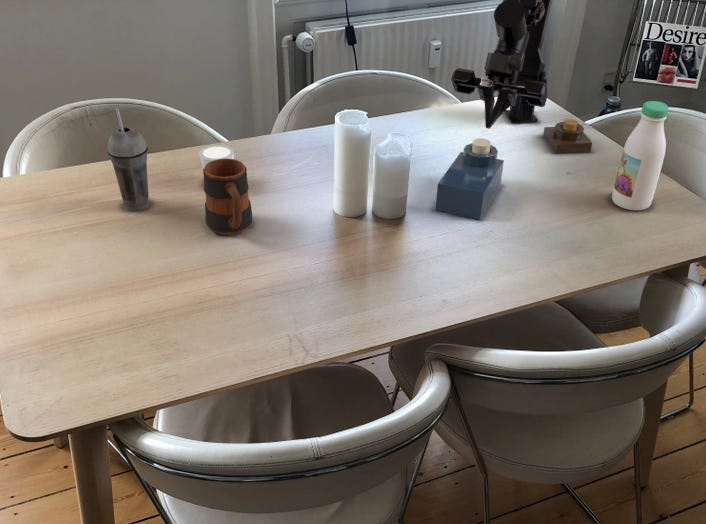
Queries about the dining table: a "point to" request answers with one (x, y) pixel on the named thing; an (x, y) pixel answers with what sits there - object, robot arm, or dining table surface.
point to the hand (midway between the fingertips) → (487, 127)
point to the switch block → (567, 139)
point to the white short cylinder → (481, 146)
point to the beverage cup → (130, 165)
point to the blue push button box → (470, 183)
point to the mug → (227, 197)
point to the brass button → (570, 124)
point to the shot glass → (215, 154)
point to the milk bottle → (642, 159)
